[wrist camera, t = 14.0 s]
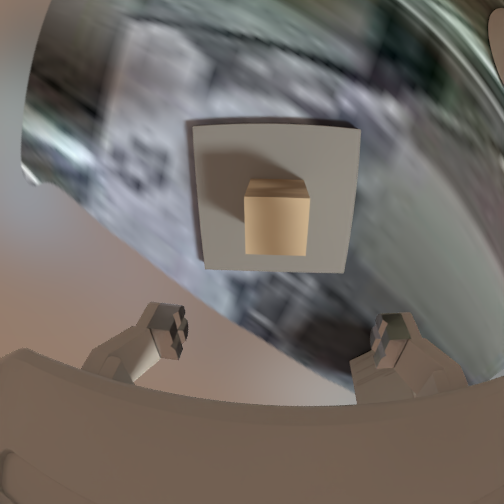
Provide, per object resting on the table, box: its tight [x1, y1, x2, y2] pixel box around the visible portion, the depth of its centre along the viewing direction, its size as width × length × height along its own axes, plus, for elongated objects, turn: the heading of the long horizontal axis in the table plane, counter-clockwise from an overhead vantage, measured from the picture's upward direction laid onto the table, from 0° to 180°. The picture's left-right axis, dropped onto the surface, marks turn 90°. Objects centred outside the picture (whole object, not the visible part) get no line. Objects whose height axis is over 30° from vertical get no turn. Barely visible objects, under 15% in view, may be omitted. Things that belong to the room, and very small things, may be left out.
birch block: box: [244, 179, 310, 256], centre depth 22 cm, size 4×4×5 cm
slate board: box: [192, 123, 361, 273], centre depth 24 cm, size 14×14×1 cm
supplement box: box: [349, 350, 416, 404], centre depth 29 cm, size 7×7×13 cm
